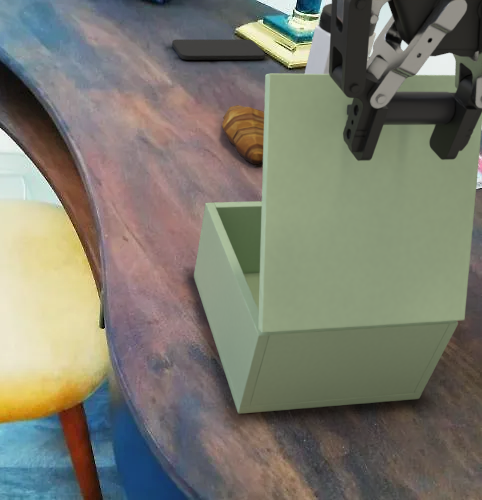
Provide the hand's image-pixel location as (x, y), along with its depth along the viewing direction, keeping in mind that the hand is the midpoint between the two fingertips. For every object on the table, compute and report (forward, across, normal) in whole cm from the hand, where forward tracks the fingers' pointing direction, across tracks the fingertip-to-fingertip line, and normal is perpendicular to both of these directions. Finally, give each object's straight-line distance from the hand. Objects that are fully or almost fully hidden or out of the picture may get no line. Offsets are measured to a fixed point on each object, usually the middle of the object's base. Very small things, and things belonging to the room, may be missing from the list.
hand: (400, 152), depth 41 cm
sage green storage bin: (+22, 0, +5) cm, 22 cm away
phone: (+23, +8, +71) cm, 75 cm away
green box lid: (+5, 0, +1) cm, 5 cm away
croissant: (+23, +4, +40) cm, 46 cm away
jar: (+23, +23, +57) cm, 66 cm away
